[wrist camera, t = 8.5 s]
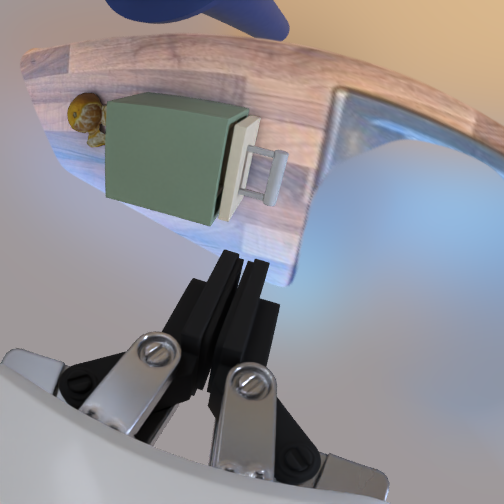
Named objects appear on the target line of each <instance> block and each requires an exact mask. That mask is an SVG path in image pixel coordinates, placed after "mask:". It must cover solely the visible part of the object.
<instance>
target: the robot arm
mask: <svg viewBox="0 0 504 504" xmlns="http://www.w3.org/2000/svg"><path fill="white" fill-rule="evenodd" d="M243 261H244V259H240V258H239V254H238V253H235V252H231V251H228V250H224V251H223V253H222V254H221V256H220V258H219V260H218V262H217V264H216V266H215V268H214V270H213V272H212V273H211V275H210V277H209V279H208V281H207V282H205V281H201V280H198V279H195V278H193V279H192V280H191V282H190V283H189V285H188V287H187V288H186V290H185V292H184V294H183V295H182V297H181V299H180V301H179V302H178V304H177V306H176V308H175V309H174V311H173V313H172V315H171V317H170V318H169V320H168V322H167V324H166V325H165V327H164V329H163V331H162V332H149V333H146V334H143V335H142V336H140V337H139V338H138V339H137V340H136V341H135V342H134V343H133V344H132V346H131V347H130V348H129V349H128V350H127V351H126V352H122V353H119V354H115V355H111V356H107V357H104V358H100V359H96V360H92V361H88V362H84V363H80V364H76V365H73V366H67V365H65V363H64V362H61V361H58V360H55V359H51V358H48V357H45V356H42V355H39V354H36V353H33V352H30V351H27V350H24V349H19V348H16V349H12V350H10V351H9V352H7V353H6V355H5V356H4V358H3V360H2V362H1V363H0V504H390V503H388V502H385V501H386V498H387V494H388V491H389V481H388V478H387V476H386V475H385V474H384V473H383V472H381V471H379V470H377V469H374V468H371V467H367V466H365V465H361V464H358V463H355V462H353V461H350V460H347V459H344V458H341V457H339V456H336V455H333V454H331V453H330V454H328V455H327V454H324V453H322V452H319V451H318V450H317V448H316V447H315V445H314V444H313V443H312V442H311V441H310V439H309V438H308V436H307V435H306V434H305V433H304V432H303V430H302V429H301V428H300V426H299V425H298V424H297V423H296V421H295V420H294V419H293V417H292V416H291V415H290V413H289V412H288V411H287V410H286V408H285V407H284V406H283V405H282V403H281V402H280V400H279V399H278V398H277V383H276V379H275V377H274V375H273V373H272V372H271V371H270V370H269V369H268V368H267V367H266V366H267V362H268V357H269V353H270V348H271V344H272V340H273V335H274V331H275V326H276V322H277V317H278V313H279V308H280V304H277V303H273V302H270V301H267V300H264V299H260V294H261V291H262V288H263V285H264V281H265V278H266V274H267V271H268V267H269V264H270V263H268V262H265V261H262V260H258V259H255V260H254V262H251V261H248V262H247V265H246V268H245V270H244V273H243V275H242V278H241V280H240V283H239V279H240V274H241V270H242V266H243ZM238 283H239V285H238ZM237 287H238V288H237ZM210 369H211V372H210ZM209 372H210V378H209V383H208V388H207V392H209V393H210V398H209V403H208V407H209V408H210V410H211V412H212V413H213V415H214V417H215V422H214V429H213V436H212V442H211V449H210V456H209V463H208V466H207V465H204V464H201V463H197V462H194V461H191V460H188V459H185V458H183V457H180V456H177V455H174V454H171V453H168V452H166V451H163V450H161V449H158V448H156V447H153V445H154V444H155V442H156V441H157V439H158V437H159V436H160V434H161V433H162V431H163V430H164V428H165V427H166V425H167V423H168V422H169V420H170V419H171V417H172V416H173V414H174V413H175V411H176V409H177V408H178V406H179V403H181V402H184V401H187V400H189V399H190V397H191V395H193V396H194V395H195V393H196V390H197V389H200V390H203V388H204V385H205V383H206V380H207V377H208V375H209Z"/></svg>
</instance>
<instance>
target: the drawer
mask: <svg viewBox="0 0 504 504" xmlns="http://www.w3.org/2000/svg"><path fill="white" fill-rule="evenodd" d="M260 119H261V118H260V117H256V116H252V115H251V116H249V117H247V118H246V119H244V120H242V121H241V122H239V123H237V121H236V122H234V123H233V124H231V125H229V129H228V134H227V140H226V145H225V151H224V157H223V162H222V168H221V174H220V180H219V186H218V192H217V197H218V196H219V195H220V193H221V192H222V191H223V193H222V199H221V204H220V210H219V217H218V219H220V220H224V221H227V222H229V220H230V219H231V217H232V215H233V214H234V212H235V210H236V209H237V207H238V205H239V204H240V202H241V200H242V199H243V197H244V196H247V197H251V198H255V199H258V200H262V201H263V203H264V204H265V205H267V206H274V205H275V204H276V200H277V196H278V193H279V189H280V185H281V181H282V178H283V174H284V170H285V166H286V162H287V159H288V155H289V154H288V153H287V152H286V151H283V150H275V151H272V150H268V149H264V148H260V147H256V146H255V142H256V137H257V133H258V128H259V124H260ZM253 153H256V154H260V155H264V156H268V157H271V158H273V157H274V158H273V162H272V166H271V170H270V174H269V178H268V182H267V186H266V190H265V194H262V193H258V192H255V191H251V190H248V189H245V188H246V183H247V179H248V174H249V169H250V165H251V160H252V155H253Z"/></svg>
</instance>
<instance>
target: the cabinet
mask: <svg viewBox="0 0 504 504" xmlns="http://www.w3.org/2000/svg"><path fill="white" fill-rule="evenodd" d="M248 113H249V108H245V107H240V106H235V105H230V104H225V103H220V102H214V101H208V100H202V99H196V98H190V97H183V96H176V95H168V94H160V93H151V92H146V93H141V94H137V95H132V96H128V97H124V98H120V99H116V100H112V101H108V102H107V113H106V135H105V188H106V197H107V198H111V199H114V200H118V201H122V202H125V203H129V204H133V205H136V206H140V207H143V208H147V209H150V210H154V211H158V212H161V213H165V214H168V215H172V216H175V217H179V218H182V219H186V220H189V221H193V222H196V223H200V224H203V225H207V226H211V225H212V223H213V222H214V220H215V219H216V217H217V216H218V214H219V210H220V204H221V199H222V193H223V191H222V192H221V193H220V195H219V196H218V197H217V192H218V186H219V180H220V174H221V168H222V162H223V157H224V151H225V145H226V140H227V134H228V129H229V125H231V124H233V123H234V122H236V121H237V123H239V122H241V121H242V120H244V119H246V118H247V117H248Z"/></svg>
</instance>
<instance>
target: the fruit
mask: <svg viewBox="0 0 504 504" xmlns="http://www.w3.org/2000/svg"><path fill="white" fill-rule="evenodd" d="M106 113H107V105H106V106H103V105H102V104H101V103H100V100H99V97H98V96H97V95H95V94H94V93H83V94H81V95H78V96H77V97H76V98H75V99H74V100H73V101H72V103H71V104H70V106H69V108H68V113H67V116H68V121H69V124H70V125H71V127H72V128H73V129H74V130H76V131H78V132H82V133H86V132H88V133H89V136H88V141H87V144H88V145H89V146H90V147H99V146H102V145H105V135H106V134H104V133H102V132H100V130H99V126H100V124H101V123H102V124H103V126H106Z"/></svg>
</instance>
